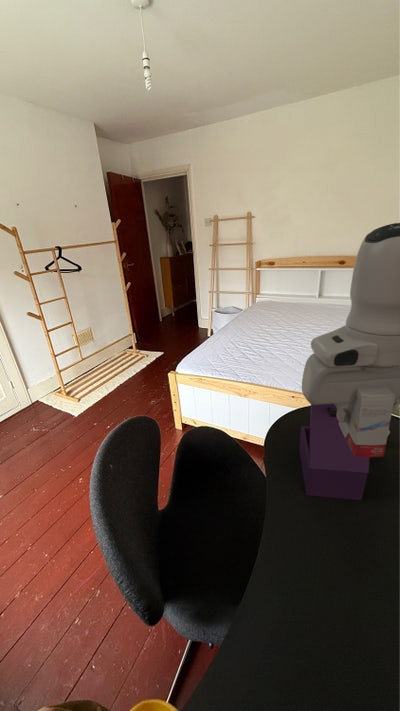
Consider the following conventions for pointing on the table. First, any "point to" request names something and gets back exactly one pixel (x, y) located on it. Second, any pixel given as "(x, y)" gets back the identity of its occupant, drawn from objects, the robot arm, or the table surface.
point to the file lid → (331, 443)
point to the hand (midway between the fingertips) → (362, 418)
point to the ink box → (369, 421)
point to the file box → (328, 476)
